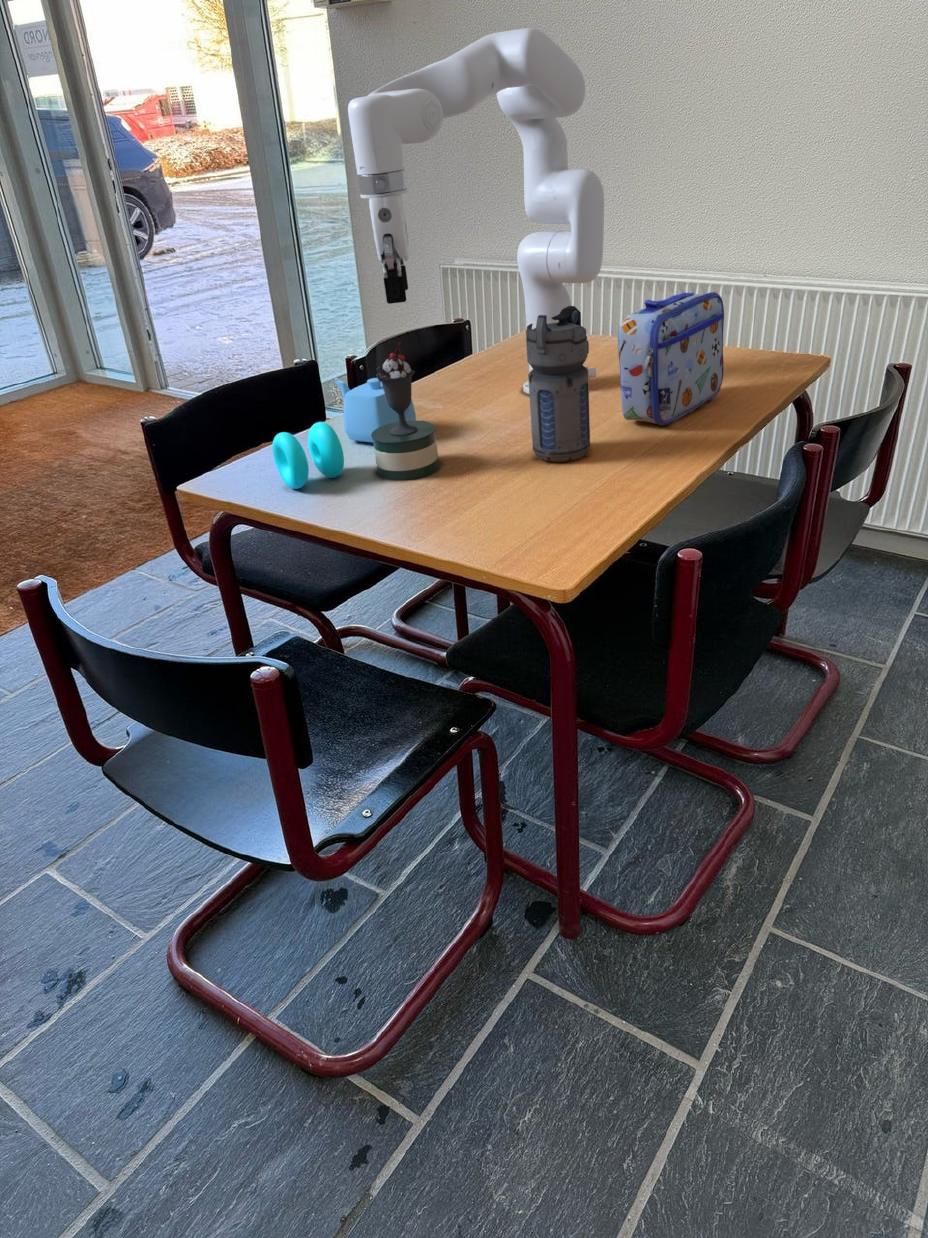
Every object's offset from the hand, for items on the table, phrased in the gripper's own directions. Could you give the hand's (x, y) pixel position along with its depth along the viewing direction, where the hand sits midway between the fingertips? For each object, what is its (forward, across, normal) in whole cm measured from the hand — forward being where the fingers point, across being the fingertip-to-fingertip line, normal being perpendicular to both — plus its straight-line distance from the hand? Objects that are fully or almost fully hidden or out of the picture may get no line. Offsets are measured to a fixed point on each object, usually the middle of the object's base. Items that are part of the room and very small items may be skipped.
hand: (398, 296), depth 153 cm
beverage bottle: (+29, -5, -26) cm, 39 cm away
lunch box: (+29, +11, -49) cm, 58 cm away
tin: (+29, -5, +2) cm, 29 cm away
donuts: (+29, -7, +19) cm, 35 cm away
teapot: (+29, +15, +9) cm, 34 cm away
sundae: (+22, -5, +2) cm, 22 cm away
